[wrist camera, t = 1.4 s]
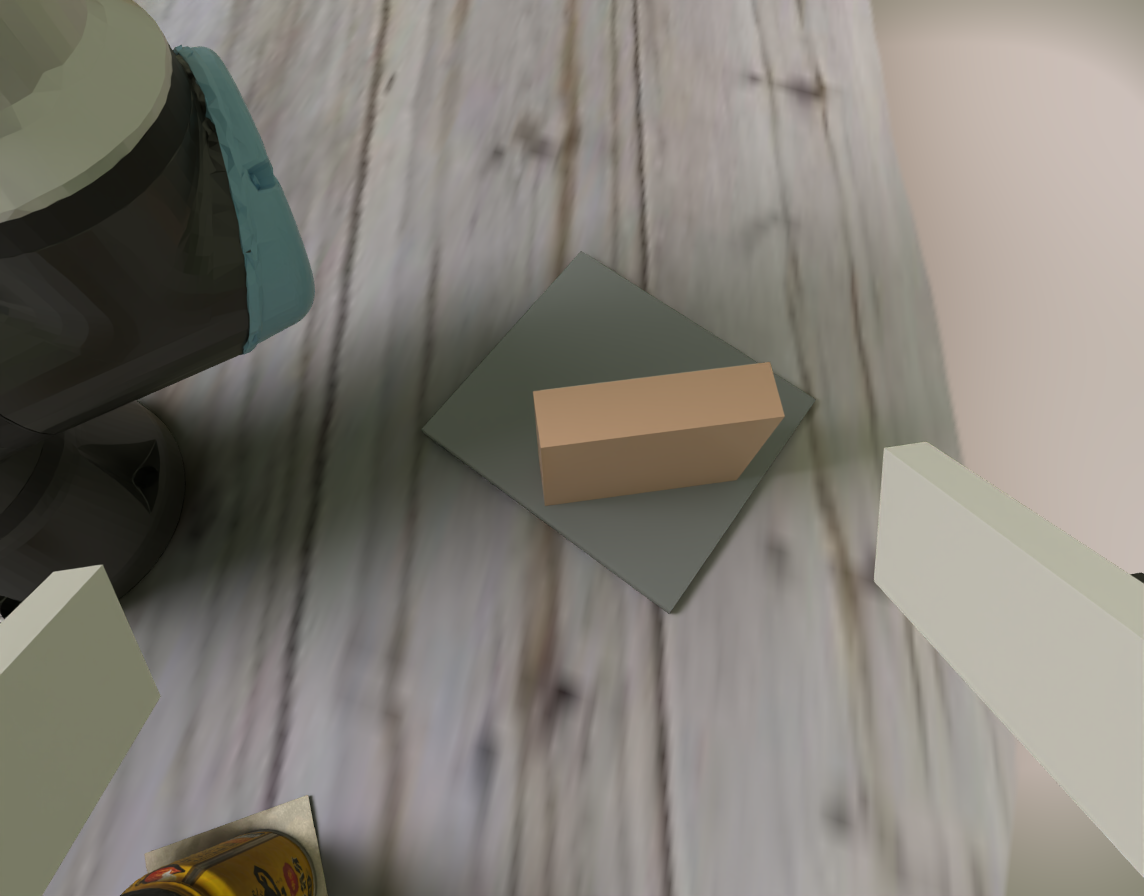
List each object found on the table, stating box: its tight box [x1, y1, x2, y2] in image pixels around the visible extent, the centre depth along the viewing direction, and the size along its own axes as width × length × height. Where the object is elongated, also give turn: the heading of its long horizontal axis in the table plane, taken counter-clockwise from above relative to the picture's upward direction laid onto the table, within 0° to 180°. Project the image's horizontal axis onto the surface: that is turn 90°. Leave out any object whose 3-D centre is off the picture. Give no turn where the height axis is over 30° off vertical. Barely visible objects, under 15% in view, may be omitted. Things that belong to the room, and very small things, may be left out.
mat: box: [422, 251, 816, 614], centre depth 45 cm, size 19×17×1 cm
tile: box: [533, 362, 785, 506], centre depth 39 cm, size 3×12×10 cm, turn 98°
